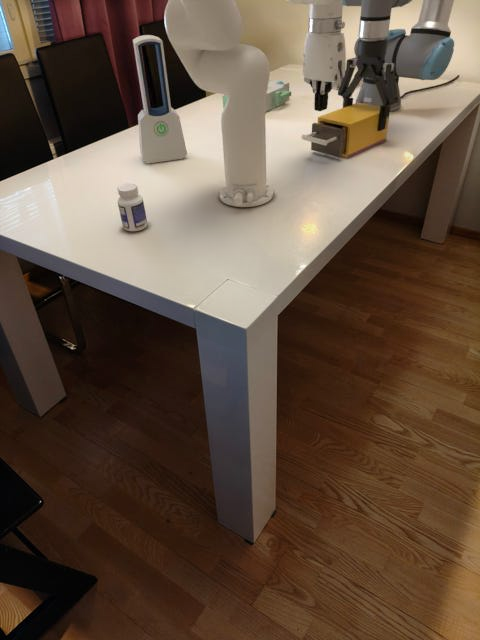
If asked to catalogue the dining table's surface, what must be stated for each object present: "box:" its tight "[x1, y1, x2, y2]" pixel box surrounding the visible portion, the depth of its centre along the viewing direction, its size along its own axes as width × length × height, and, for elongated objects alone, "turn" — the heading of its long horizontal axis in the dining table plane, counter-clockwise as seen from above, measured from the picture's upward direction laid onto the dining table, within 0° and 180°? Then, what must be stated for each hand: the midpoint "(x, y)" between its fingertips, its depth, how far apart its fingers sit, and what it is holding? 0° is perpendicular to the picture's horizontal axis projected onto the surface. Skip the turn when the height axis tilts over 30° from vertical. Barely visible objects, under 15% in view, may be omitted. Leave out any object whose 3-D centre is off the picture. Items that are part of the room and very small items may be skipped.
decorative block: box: [221, 80, 292, 113], centre depth 175 cm, size 26×6×20 cm
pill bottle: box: [117, 182, 148, 232], centre depth 102 cm, size 5×5×9 cm
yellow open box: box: [317, 102, 390, 159], centre depth 137 cm, size 18×11×9 cm, turn 134°
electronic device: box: [132, 34, 188, 165], centre depth 130 cm, size 12×8×30 cm, turn 105°
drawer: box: [301, 122, 348, 158], centre depth 134 cm, size 22×10×7 cm, turn 134°
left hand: (320, 109), depth 124 cm, fingers closed
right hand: (363, 126), depth 140 cm, fingers closed on yellow open box, 11 cm apart
